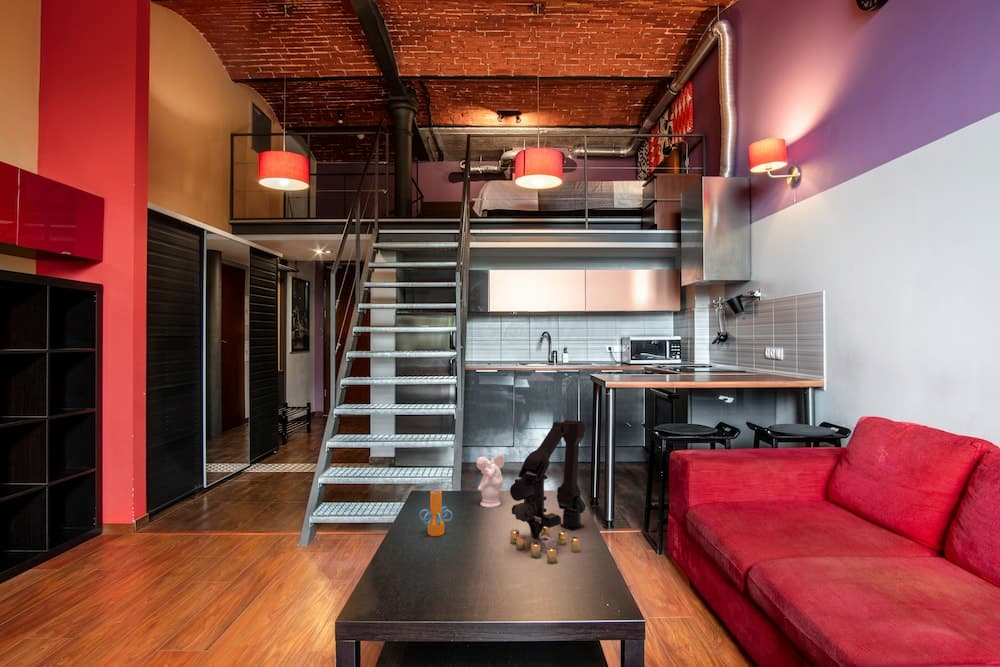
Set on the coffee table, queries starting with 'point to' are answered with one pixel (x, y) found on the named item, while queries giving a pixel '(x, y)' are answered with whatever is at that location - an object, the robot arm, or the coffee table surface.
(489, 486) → the cherub figurine
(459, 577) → the coffee table surface
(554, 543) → the zinc nut
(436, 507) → the orange column with rings
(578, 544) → the spacers
